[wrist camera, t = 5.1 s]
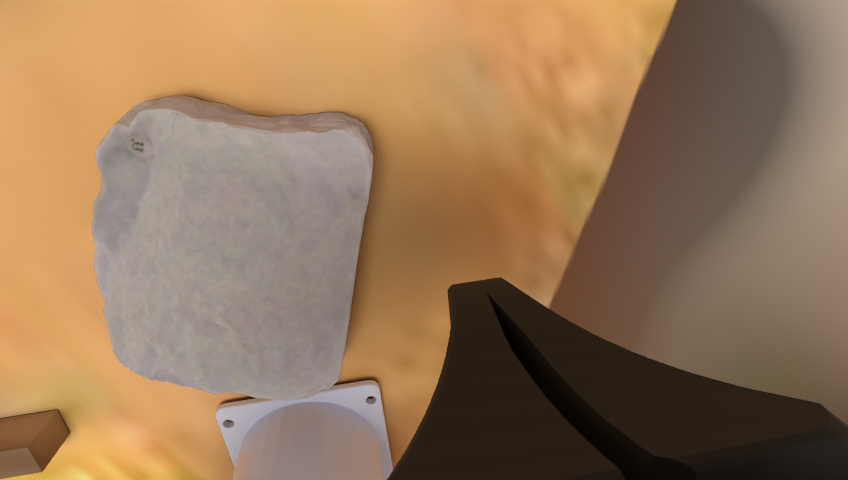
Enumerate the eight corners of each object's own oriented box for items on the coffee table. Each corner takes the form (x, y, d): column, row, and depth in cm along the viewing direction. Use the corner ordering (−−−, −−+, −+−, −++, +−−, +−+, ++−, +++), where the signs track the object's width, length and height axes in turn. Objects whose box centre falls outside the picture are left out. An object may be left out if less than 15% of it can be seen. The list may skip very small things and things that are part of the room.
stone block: (156, 324, 23) (355, 361, 23) (83, 385, 18) (331, 431, 18) (150, 72, 19) (391, 118, 19) (55, 72, 14) (373, 132, 14)
